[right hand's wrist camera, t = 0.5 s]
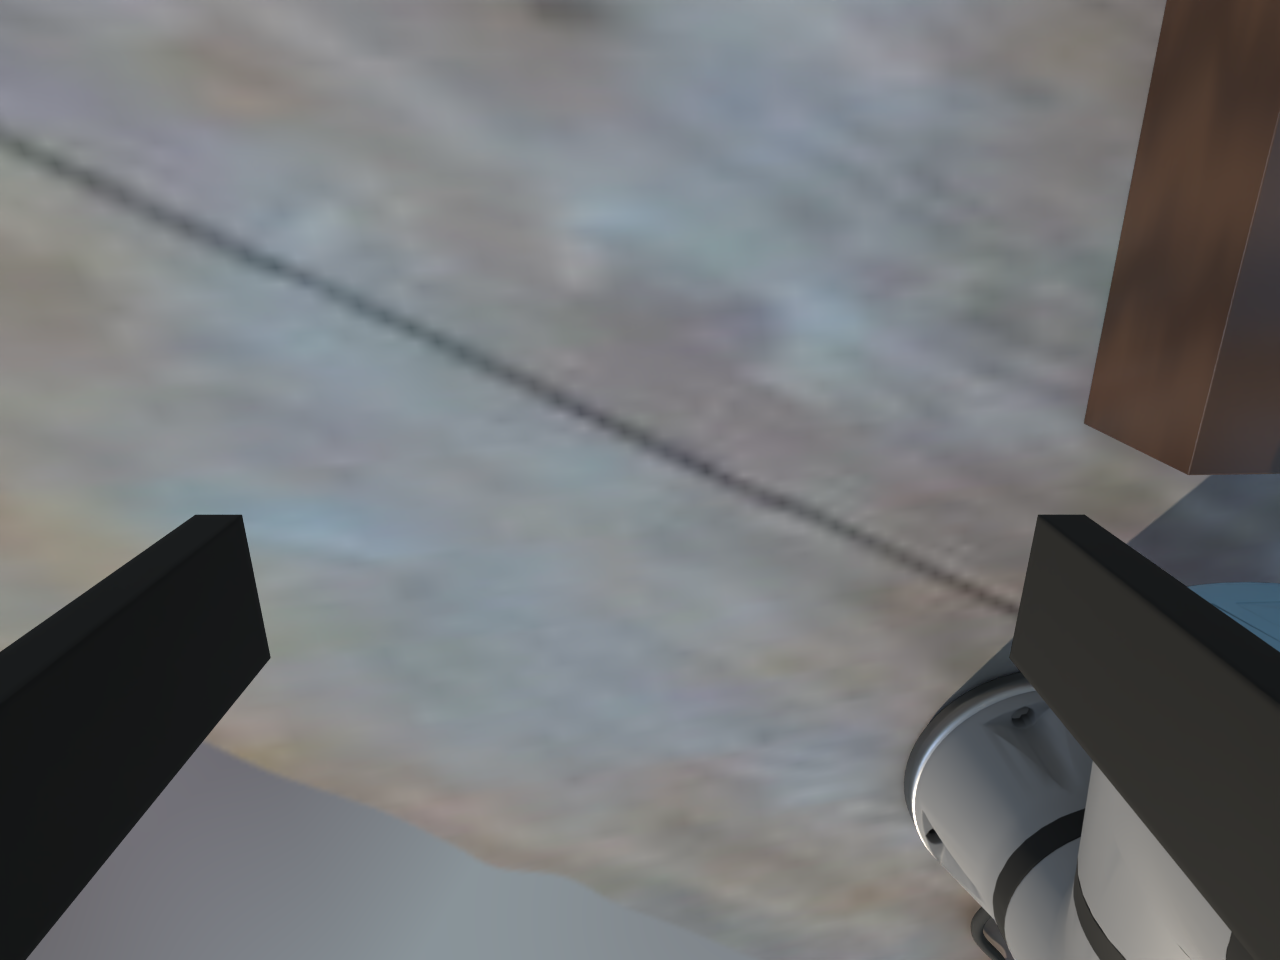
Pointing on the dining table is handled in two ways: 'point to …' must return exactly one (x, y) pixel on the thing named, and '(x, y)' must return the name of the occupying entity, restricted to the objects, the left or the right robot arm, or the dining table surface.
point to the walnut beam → (1201, 252)
